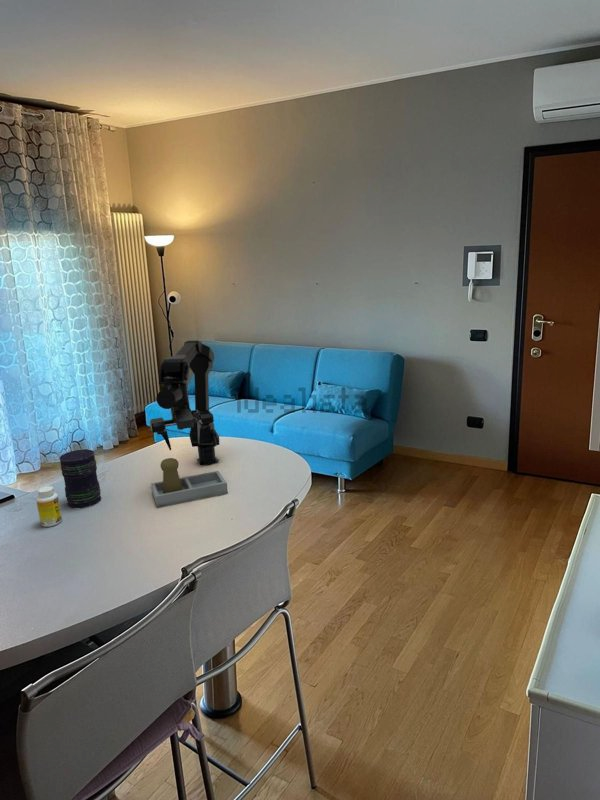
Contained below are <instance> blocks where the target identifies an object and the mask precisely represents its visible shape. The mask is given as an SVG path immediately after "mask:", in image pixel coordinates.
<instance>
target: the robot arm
mask: <svg viewBox="0 0 600 800" xmlns="http://www.w3.org/2000/svg"><path fill="white" fill-rule="evenodd" d="M214 361H215V354H214V351H213V349H212V348H211V347H210V346H208V345H206V344H203V343H202V341H200V340H198V339H197V340H196V339H195V340H194V339H193V340H185V341H184V344H183V346H182V347H181V348H180V349H179V350H178V351H177V352H176V353H175V355H172V356H167V357H166V358H164V359H163V361H162V362H161V364H160V370H159V377H158V378H159V379H158V385H161V386H160V387H161V390H160V391H159V392H158V393H157V395H156V399H155V400H156V402H157V404H158V406H159V407H160V408H162V409H165V410H170V414H171V418H170V419H165V420H164V417H156V418H155V417H154V418H151V419H150V420H149V427H150V431H151V432H152V433H156V435H161V437H162V438H163V439H164V441H165V443H166V445H167V448H168V449H169V451H171V450H172V447H171V442H170V438H169V435H168V431H167V428H166V427H171V426H176V427H177V429H178V430H179V431H181V430H184V429H185V430H186V429H190V430H189V433H188V434H189V440H190V443H191V444H190V445H191V447H192V448H194V447H197V454H198V458H196V462H197V463H198V464H199V466H205V465H211V464H217V463H219V459H218V458H217V457H216V448H215V447H218V446H219V445H220V435H219V434H218V433H217V430H216V429H215V421H214V420H215V417H214V414H213V413H212V412H211V411H210V394H209V392H210V391H209V387H210V386H209V374H210V372H211V371H212V369H213V366H214V365H213V364H214ZM190 370H191V372H192V373H193V377H194V406H195V407H194V409H193V410H191V407H190V406H191V405H190V397H189V392H188V383H187V381H188V380H189V376H190V375H189V374H190Z"/></svg>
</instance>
